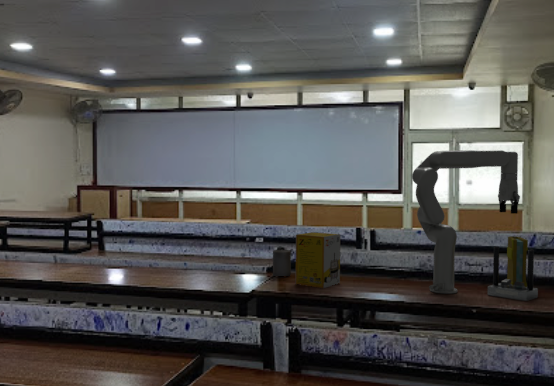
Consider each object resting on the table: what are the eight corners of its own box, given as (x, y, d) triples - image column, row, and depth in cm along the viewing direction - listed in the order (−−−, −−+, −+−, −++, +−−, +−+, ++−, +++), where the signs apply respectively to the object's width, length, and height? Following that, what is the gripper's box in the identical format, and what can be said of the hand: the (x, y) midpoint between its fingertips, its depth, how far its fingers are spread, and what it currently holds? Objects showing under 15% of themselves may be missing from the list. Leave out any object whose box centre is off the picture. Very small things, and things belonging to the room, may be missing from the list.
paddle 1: (506, 285, 270) (506, 282, 269) (501, 285, 272) (501, 281, 271) (510, 282, 273) (510, 279, 272) (505, 282, 274) (505, 278, 274)
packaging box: (312, 279, 308) (313, 232, 307) (339, 283, 299) (340, 234, 298) (295, 284, 295) (295, 234, 294) (323, 288, 286) (324, 236, 285)
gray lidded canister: (284, 273, 326) (284, 246, 326) (294, 276, 318) (294, 248, 318) (269, 275, 321) (269, 248, 321) (279, 278, 313) (278, 249, 313)
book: (526, 293, 277) (527, 240, 277) (511, 292, 279) (512, 239, 278) (519, 286, 294) (520, 236, 293) (505, 286, 295) (506, 236, 294)
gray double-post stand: (526, 301, 259) (527, 251, 259) (487, 294, 272) (487, 247, 272) (538, 297, 268) (539, 249, 267) (498, 291, 281) (499, 245, 280)
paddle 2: (519, 285, 265) (520, 281, 266) (514, 284, 267) (514, 281, 267) (523, 286, 268) (524, 282, 269) (518, 285, 270) (518, 281, 270)
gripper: (492, 177, 292) (491, 211, 292) (512, 177, 275) (511, 214, 275) (506, 177, 293) (505, 211, 293) (526, 177, 276) (525, 214, 276)
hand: (508, 212), depth 284 cm, fingers open, 9 cm apart
